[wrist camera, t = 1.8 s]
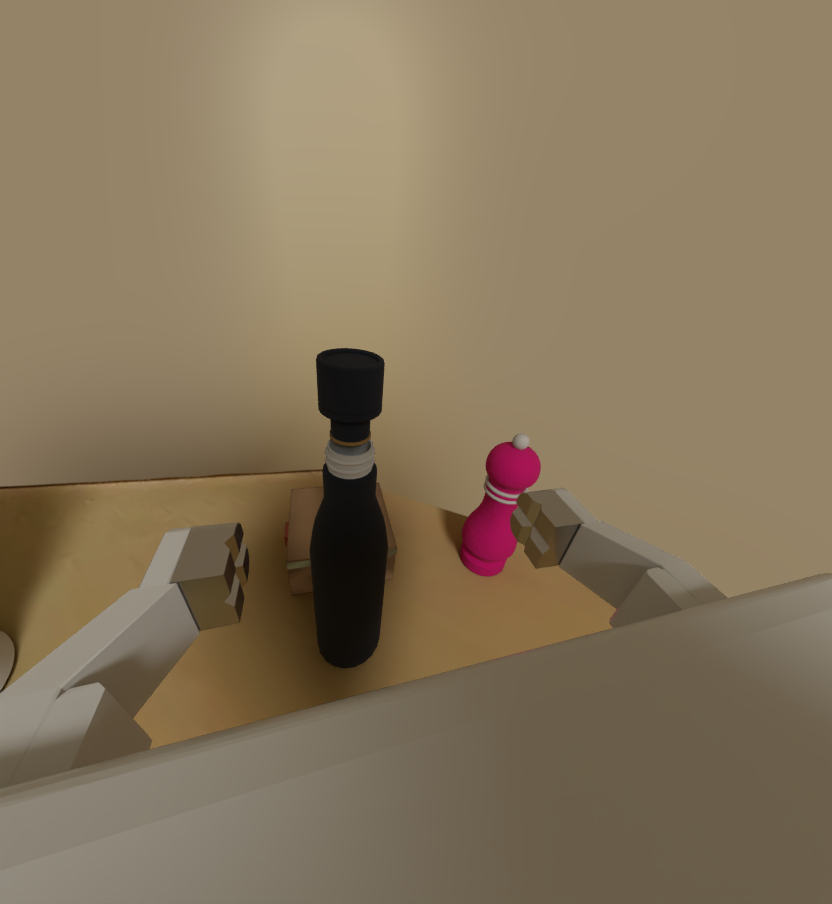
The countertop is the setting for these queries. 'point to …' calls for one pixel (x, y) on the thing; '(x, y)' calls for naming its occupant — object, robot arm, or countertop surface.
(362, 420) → the black bottle
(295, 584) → the wooden box
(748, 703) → the robot arm
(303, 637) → the countertop surface
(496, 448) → the pepper mill
